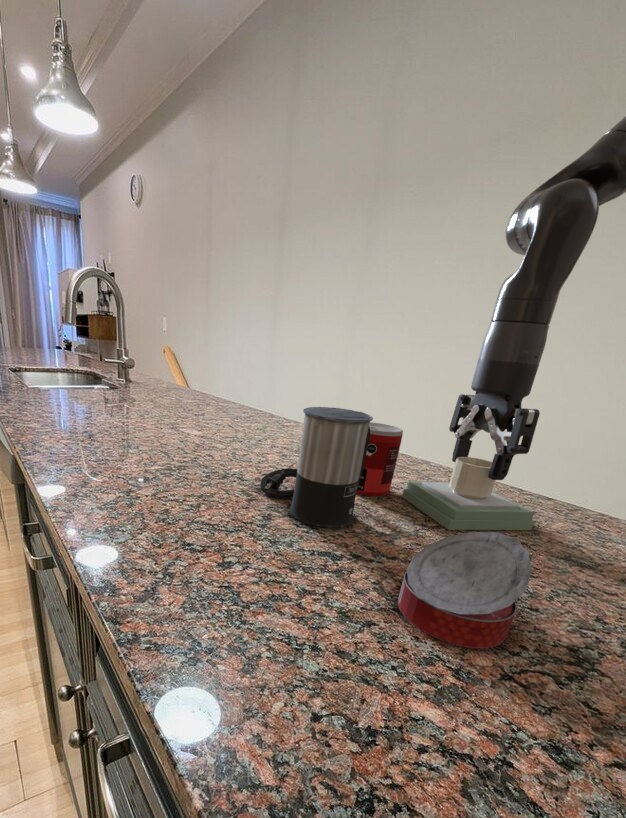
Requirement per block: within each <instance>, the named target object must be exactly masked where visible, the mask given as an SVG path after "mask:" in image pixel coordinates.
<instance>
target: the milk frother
mask: <svg viewBox="0 0 626 818" xmlns="http://www.w3.org/2000/svg"><path fill="white" fill-rule="evenodd" d="M302 412H303V413H304V417H303V424H302V432H301V433H302V434H301V439H300V446H299V447H300V448H299V455H298V462H297V468H292V467H289V468H287V467H286V468H280V469H276V470H273V471H271V472H268V473H266V474H265V475H264V476H263V477H262V478H261V479H260V482H259V487H260V489H261V491H262V492H263V493H265V494H266V495H267V496H270V497H273V498H277V499H290V498H292V500H291V505H290V507H289V508H288V511H289V514H290V515H291V517H293V518H294V519H295V520H297V521H299V522H301V523H303V524H306V525H310V526H313V527H317V528H318V527H320V528H325V529H340V528H344V527H348V526H350V525H351V524H352V523H353V522H354V511H355V501H356V495H357V494H356V491H357V488H358V486H359V482H360V478H361V474H362V470H363V466H364V461H365V457H366V453H367V449H368V445H369V441H370V427H369V423H370V422H372V421H373V419H374V417H373V416H371V415H370V414H368V413H366V412H363V411H359V410H358V411H357V410H352V409H348V408H347V409H346V408H341V407H328V406H311V407H306V408H303V409H302ZM286 478H295V484H294V488H293V489H288V490H279V488H280V487H281V486H282V484H283V483H284V481H285V480H286Z"/></svg>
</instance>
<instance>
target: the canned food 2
mask: <svg viewBox="0 0 626 818" xmlns="http://www.w3.org/2000/svg"><path fill="white" fill-rule="evenodd" d="M532 571H533V569H532V564H531V559H530V552H529V551H528V550H527V549H526V548H525V546H523V544H522V543H521V541H519V539H517V538H514V537H512V536H510V535H507V534H504V533H500V532H498V531H492V532H491V531H487V532H486V531H485V532H484V531H469V532H465V533H460V534H454V535H448V536H446V537H444V538H442V539H439V540H437V541H434V542H432V543H429V544H427V545H426V546H424V547H423V548H422V549H421V550H419V551H418V552H417V553H415V554H413V555H412V558H411V560H410V562H409V564H408V565H407V567H406V571H404V575H403V579H402V582H401V587H400V589H399V593H398V598H397V607H398V608H399V611H400V613H401V614H402V616H403V617H404V618H405V619H406V620H407V621H408V622H410V624H412V625H413V626H415V627H416V628H417V629H419V630H420V631H422V632H424V633H425V634H427V635H429V636H431V637H434V638H435V639H438V640H440V641H443V642H446V643H448V644H452V645H456V646H460V647H466V648H473V649H488V648H493V647H497V646H498V645H501V644H502V643H503V642H504V641H505V640H506V638H507V636H508V633H509V631H510V629H511V625H512V622H513V619H514V617H515V615H516V613H517V610H518V609H517V607H518V606H517V603H516V601H517V600H518V599H519V598H520V597H521V596H522V595H523V594H524V593H525V592H526V591H527V588H528V585H529V583H530V582H529V581H530V578H531V575H532Z"/></svg>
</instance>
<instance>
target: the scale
mask: <svg viewBox="0 0 626 818" xmlns="http://www.w3.org/2000/svg"><path fill="white" fill-rule="evenodd" d="M422 482H423V481H419V480H418V481H417V480H416V481H415V480H409V481H408V484H407V487H406V488H403V492H402V494H401V495H402V496H401V498H403V499H404V500H406V501H407V502H408V503H409V504H411V505H413V506H414V507H416V508H417V509H418V510H419V511H421V512H422V513H424V514H425V515H426V516H428V517H429V518H431V519H432V520H434V521H435V522H437V523H438V524H440V525H441V526H443V528H445V529H446V530H448V531H449V530H451V531H452V530H453V531H454V530H456V531H457V530H458V531H462V530H463V531H465V530H466V531H469V530H470V531H471V530H472V531H475V530H476V531H532V529H533V527H534V524H535V520H533V517H534V514H535V511H533V510H531V509H529V508H527V507H525V506H523V505H521V504H519V503H517V502H515V501H513V500H511V499H510V498H507V497H505V496H504V495H502V494H499V493H498V492H495V491H494V490H493V491H492V492H493V493H495V494H497V495H499V496H501V497H503V498H505V499H507V500H509V501H511V502H513V503H515V504H517V505H519V508H518V509H492V508H458V507H456V506H455V505H453V504H451V503H450V502H448V501H447V500H445V499H443V498H442V497H440V496H438V495H437V494H435V493H433V492H432V491H430V490H429V489H427V488H425V487H424V486H422ZM439 482H440V483H450V481H439Z"/></svg>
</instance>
